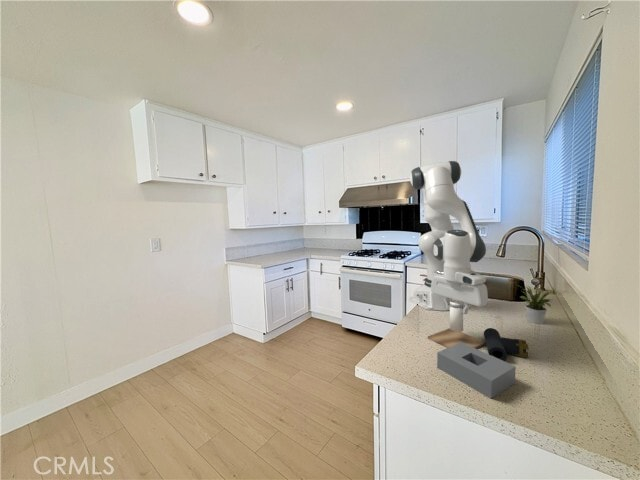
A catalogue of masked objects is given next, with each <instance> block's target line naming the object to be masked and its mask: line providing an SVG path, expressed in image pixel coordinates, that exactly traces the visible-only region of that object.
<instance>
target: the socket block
mask: <svg viewBox="0 0 640 480" xmlns="http://www.w3.org/2000/svg"><path fill="white" fill-rule="evenodd" d="M436 355H437V356H436V357H437V358H436V359H437V360H436V361H437V362H436V365H437V366H436V368H437V369H439V370H441V371H442V372H444V373H447V374H448V375H449V376H451V377H453V378H455V379H456V380H458V381H460V382H461V383H463V384H464V385H467V386H468V387H470V388H472V389H473V390H475V391H477V392H479V393H480V394H481V395H484V396H485V397H487V398H489V399H493V398H495V397H496V396H498V395H499V394H500V393H502V392H503V391H505V390H507V389H508V388H510V387H511V386H513V385H514V384H515V383H516V369H517V367H516V365H515V364H514V365H513V364H511V363H509V362H507V361H506V360H505V361H502V360H500V359H498V358H496V357H493V356H491V355H489V354H488V353H486V352H484V351H482V350H479V348H477V349H475V348H473V347H471V346H469V345H466V344H464V343H462V342H460V343H458V344H456V345H453V346H451V347H449V348H446V347H445V349H442V350H440V351H437V353H436Z"/></svg>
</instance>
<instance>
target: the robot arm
mask: <svg viewBox="0 0 640 480" xmlns="http://www.w3.org/2000/svg"><path fill="white" fill-rule="evenodd" d="M461 175H462V167H461V165H460V163H459V162H458V161H456V160H449V161H442V162H435V163H431V164H427V165H423V166H421V167H420V166H417V167H415V168H413V169H412V170H411V173H410V175H409V176H410V177H409V182H410V184H411V186H412V188H413V189H414V190H423V210H424V219H425V221H426V222H427V223H428V224H429V226H430V229H431V231H428V232H425V233H423V234H422V235H420V237H419V238H418V241H417V243H418V247H419V249H420V250H421V252H422V253H423V254H424V257H425V260H426V267H427V268H426V270H427V271H426V273H427V275H426V278H423V279H422V282H424V284H421V285H420V286H418V287H417V288H415V289H414V291H413V296H411V297H410V298H409V299H408V301H409V302H410V303H413V304H415V305H417V304H418V305H417V306H418V307H421V309H425V310H427V311H428V310H429V311H430V310H431V311H433V310H434V311H440V312H441V311H450V301H459V302H462V303H463V308H461V313H462V314H463V315H468V313H469V312H468V311H469V308H470V307H471V306H475V307H478V308H481V307H482V308H483V307H485V306H486V305H487V304H489V303H488V302H489V293H488V292H489V291H488V288H487V285H486V284H485V283H486V281H487V278H486V276H484V275H483V274H480V273H478V272H476V271H474V270H472V265H471V263H478V262H480V261H481V260H482V259H483V258H484V257H485V256H486V253H487V247H486V245H485V242H484V240H483V238H482V236H481V235H480V233H479V231H478V230H479V229H478V228H477V225H476V223H475V220H474V219H473V216H472V213H471V210H470V208H469V206H468V204H467V203H466V201H465V200H464V199H461V198H460V197H459V196H458V194H457V192H456V191H455V186H454V185H455V184H456V183H458V182H459V181H460V179H461ZM451 217H453V218H455V219H456V220H457V221H458V222H459V226H460V228H461V229H454V226H453V223H452V221H451V220H452V219H451ZM420 301H421V302H420ZM419 302H420V303H419Z"/></svg>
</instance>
